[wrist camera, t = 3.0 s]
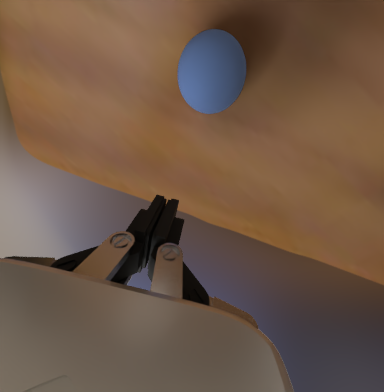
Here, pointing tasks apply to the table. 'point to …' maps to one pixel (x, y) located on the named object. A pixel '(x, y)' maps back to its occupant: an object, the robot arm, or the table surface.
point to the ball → (211, 71)
